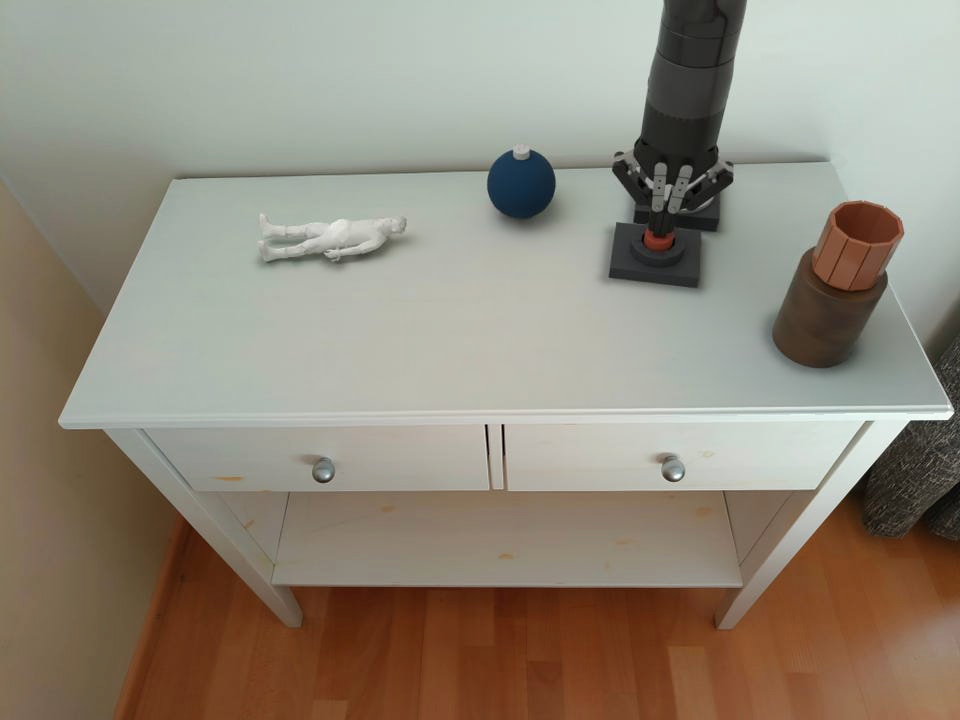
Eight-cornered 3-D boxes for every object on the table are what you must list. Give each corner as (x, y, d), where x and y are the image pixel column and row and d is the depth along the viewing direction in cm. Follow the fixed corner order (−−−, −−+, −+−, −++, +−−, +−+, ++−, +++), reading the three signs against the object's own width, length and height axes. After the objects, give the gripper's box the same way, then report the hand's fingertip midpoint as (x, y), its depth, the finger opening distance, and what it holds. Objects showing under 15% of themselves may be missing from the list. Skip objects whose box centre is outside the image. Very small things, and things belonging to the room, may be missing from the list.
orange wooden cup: (873, 252, 72) (898, 203, 67) (881, 298, 68) (908, 250, 63) (808, 245, 73) (828, 196, 68) (812, 290, 69) (833, 242, 64)
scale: (716, 185, 95) (721, 168, 92) (716, 231, 89) (720, 215, 87) (638, 178, 96) (641, 161, 94) (632, 222, 91) (635, 206, 89)
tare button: (672, 234, 85) (674, 225, 84) (671, 253, 83) (673, 244, 82) (644, 231, 86) (646, 222, 85) (642, 250, 84) (644, 241, 83)
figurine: (259, 212, 89) (405, 189, 89) (270, 235, 93) (411, 213, 92) (255, 255, 85) (408, 231, 85) (267, 277, 89) (414, 255, 88)
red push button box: (698, 241, 88) (703, 221, 86) (696, 288, 83) (702, 269, 81) (615, 231, 90) (617, 212, 87) (608, 277, 85) (611, 258, 83)
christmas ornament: (531, 182, 96) (532, 114, 89) (567, 217, 92) (572, 149, 84) (476, 204, 94) (472, 137, 86) (510, 242, 89) (509, 174, 82)
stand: (847, 315, 80) (882, 247, 72) (854, 373, 75) (893, 306, 67) (770, 306, 81) (797, 238, 73) (773, 362, 76) (802, 295, 68)
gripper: (613, 109, 69) (597, 247, 82) (760, 121, 66) (719, 261, 80) (620, 67, 73) (604, 205, 87) (758, 77, 71) (720, 217, 85)
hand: (660, 232), depth 83 cm, fingers closed
